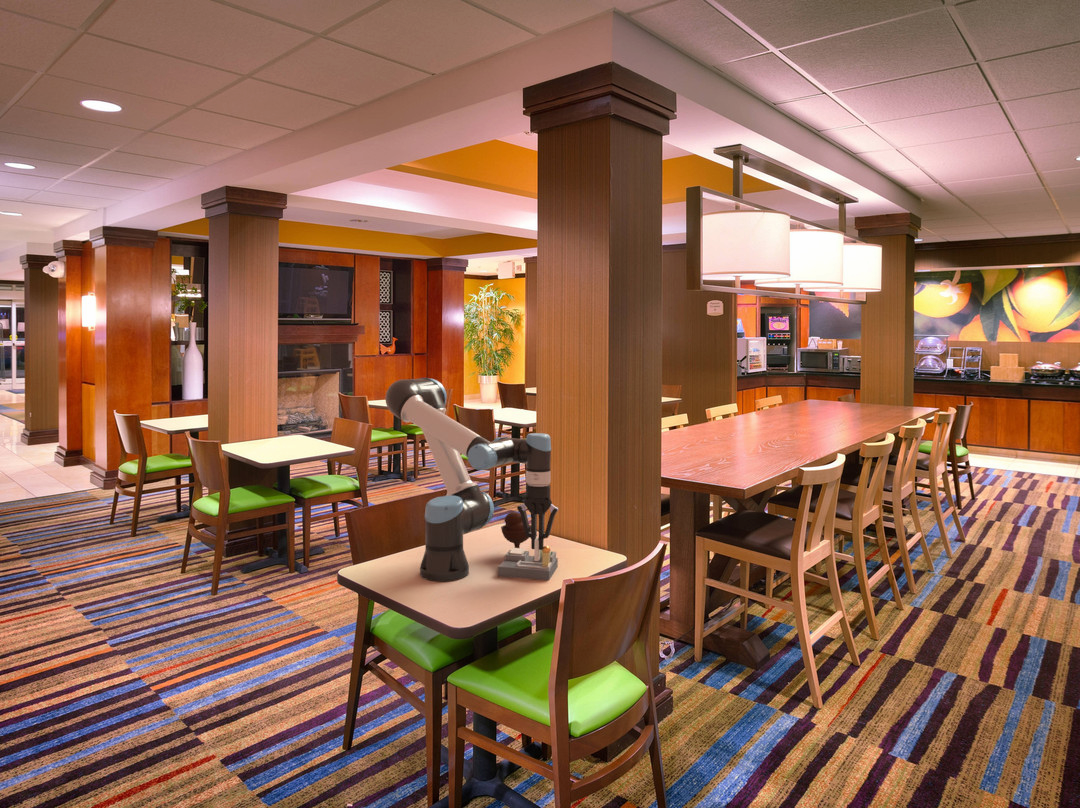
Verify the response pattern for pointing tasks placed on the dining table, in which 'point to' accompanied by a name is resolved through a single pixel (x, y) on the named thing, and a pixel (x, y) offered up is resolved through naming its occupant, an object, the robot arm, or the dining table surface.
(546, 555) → the brass lever
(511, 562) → the console
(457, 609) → the dining table surface
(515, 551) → the rocker
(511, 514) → the ice cream bowl
